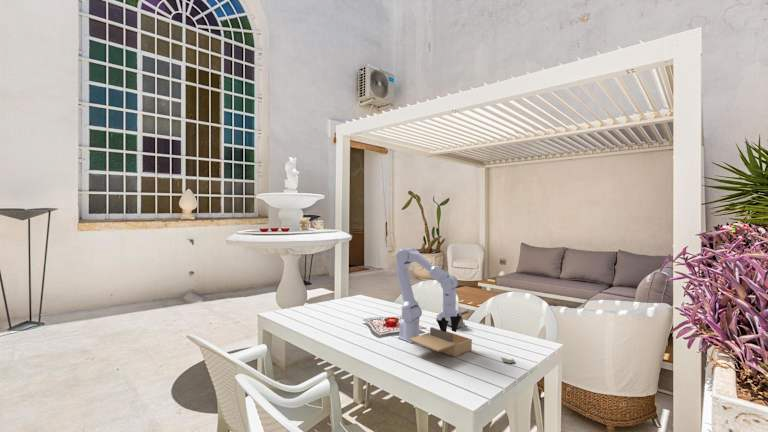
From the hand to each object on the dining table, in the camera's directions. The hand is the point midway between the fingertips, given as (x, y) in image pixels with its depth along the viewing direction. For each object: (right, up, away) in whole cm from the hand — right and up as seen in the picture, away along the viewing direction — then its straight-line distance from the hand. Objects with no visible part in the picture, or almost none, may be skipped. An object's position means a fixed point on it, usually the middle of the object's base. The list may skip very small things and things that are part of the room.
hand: (448, 333), depth 162 cm
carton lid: (-8, -2, -7) cm, 11 cm away
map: (+24, -8, -6) cm, 26 cm away
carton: (0, -7, 0) cm, 7 cm away
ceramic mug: (+9, -7, +33) cm, 35 cm away
